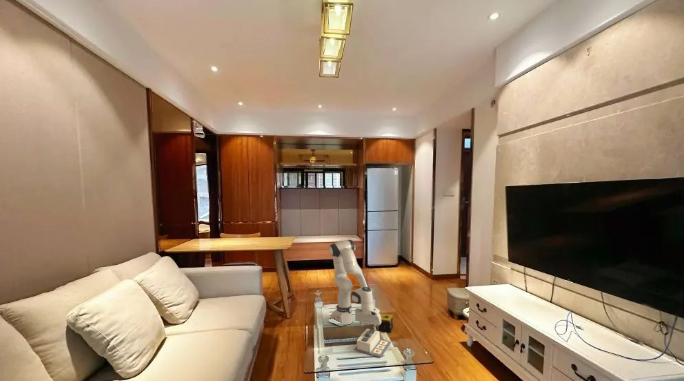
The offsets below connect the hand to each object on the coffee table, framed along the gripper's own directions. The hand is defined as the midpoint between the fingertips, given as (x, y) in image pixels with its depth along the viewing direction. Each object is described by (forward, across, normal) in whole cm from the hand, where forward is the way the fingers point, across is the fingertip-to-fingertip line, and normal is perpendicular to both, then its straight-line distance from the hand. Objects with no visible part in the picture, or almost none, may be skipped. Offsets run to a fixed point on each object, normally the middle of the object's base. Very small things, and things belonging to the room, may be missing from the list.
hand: (368, 328), depth 192 cm
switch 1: (+6, +3, -13) cm, 15 cm away
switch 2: (+5, +3, -8) cm, 10 cm away
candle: (+8, +8, +17) cm, 21 cm away
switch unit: (+8, +6, -8) cm, 13 cm away
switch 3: (+6, +3, -2) cm, 7 cm away
